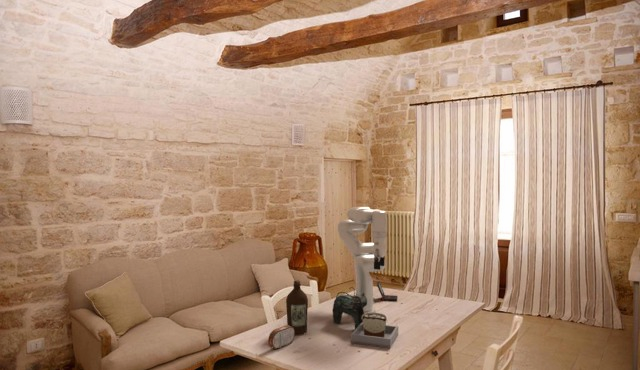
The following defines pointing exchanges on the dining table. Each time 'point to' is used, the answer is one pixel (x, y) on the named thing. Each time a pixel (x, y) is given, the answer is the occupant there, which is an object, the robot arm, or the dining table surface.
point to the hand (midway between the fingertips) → (379, 267)
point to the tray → (386, 342)
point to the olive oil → (297, 309)
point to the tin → (281, 336)
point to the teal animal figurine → (349, 307)
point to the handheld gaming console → (386, 297)
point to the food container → (374, 324)
